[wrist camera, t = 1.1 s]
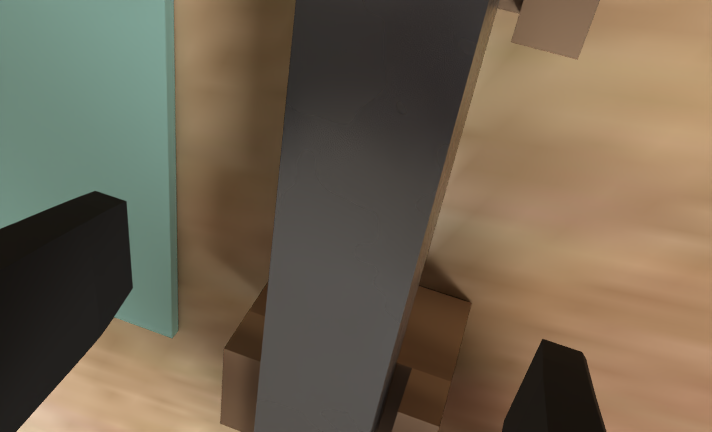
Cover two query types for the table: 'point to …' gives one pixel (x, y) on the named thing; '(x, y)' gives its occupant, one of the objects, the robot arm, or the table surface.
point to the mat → (95, 127)
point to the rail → (360, 198)
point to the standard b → (552, 24)
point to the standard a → (410, 379)
